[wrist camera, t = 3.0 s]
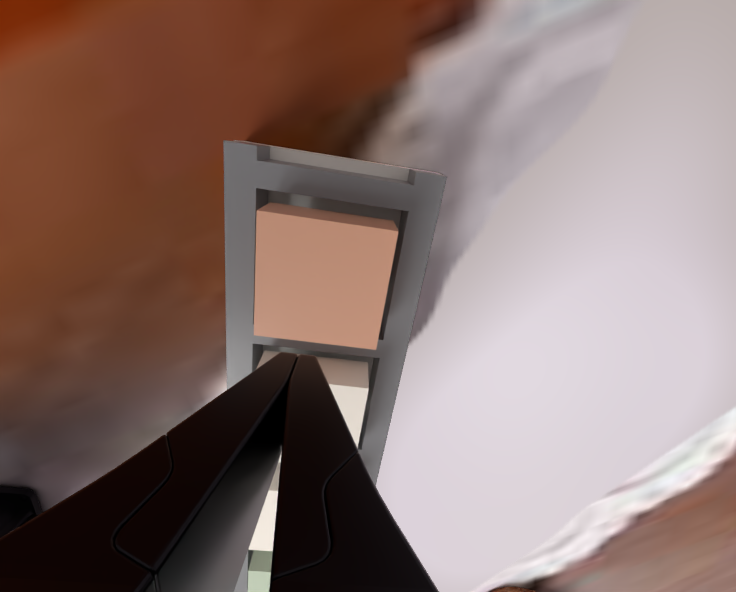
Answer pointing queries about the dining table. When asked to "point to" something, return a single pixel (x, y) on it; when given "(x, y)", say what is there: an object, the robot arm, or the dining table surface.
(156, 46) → the dining table surface
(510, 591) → the cookie
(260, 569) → the sage key
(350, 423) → the cream key
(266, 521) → the cream key
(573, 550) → the dining table surface
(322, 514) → the robot arm
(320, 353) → the keypad
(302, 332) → the terracotta key
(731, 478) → the dining table surface
